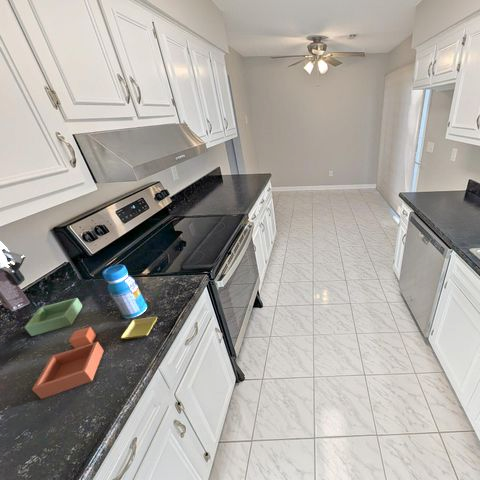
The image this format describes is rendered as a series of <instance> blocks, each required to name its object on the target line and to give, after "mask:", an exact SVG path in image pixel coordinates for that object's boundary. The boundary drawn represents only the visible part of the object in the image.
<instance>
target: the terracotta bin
mask: <svg viewBox="0 0 480 480" xmlns="http://www.w3.org/2000/svg"><path fill="white" fill-rule="evenodd" d="M104 351H105V350H104V348H103V347H102V346H101V344H100V343H99V341H93V343H91V344H88V345H85V346H81V347H78V348H72V349H68V350H66V351H65V350H64V351H63V352H62V351H61V352H60V353H56V354H52V355H51V357H50V358H49V360H48V361H47V363H46V364H45V366H44V368H43V370H42V371H41V373H40V375H39V377H38V378H37V379H36V382H35V383H34V385H33V386H32V388H31V390H32V391H33V392H34V393H35V394H36V395H37V396H38V397H39V398H40V400H42V399H45V398H49V397H51V396H54V395H57V394H60V393H62V392H66V391H68V390H71V389H73V388H74V389H75V388H76V387H79V386H81V385H86V384H88V383H91V382H93V380H94V378H95V375H96V373H97V370H98V367H99V365H100V362H101V359H102V357H103V354H104Z"/></svg>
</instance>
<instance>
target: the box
mask: <svg viewBox="0 0 480 480" xmlns="http://www.w3.org/2000/svg"><path fill="white" fill-rule="evenodd" d="M9 274H10V273H9V272H7V271H5V270H3V269H2V268H0V303H1V305H2V306H3V307H4V308H6V309H7V310H9V311H11V312H14V311H17V310H18V309H19V310H20V309H21V308H23V307H25V306H27V305H29V304H30V303H31V301H30V300H29V297H27V295H26V294H25V293H24V291H23V290H22V288H21V287H20V285H15V284H14V282H13V281H12V280H11V278H10V277H9V276H8V275H9Z"/></svg>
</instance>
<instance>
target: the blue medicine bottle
mask: <svg viewBox="0 0 480 480" xmlns="http://www.w3.org/2000/svg"><path fill="white" fill-rule="evenodd" d="M102 276H103V279H104V280H105V281H106V282H107V291H108V292H109V295H110V297H111V298H112V299H113V301H114V303H115V305H116V306H117V308H118V310H119V311H120V313H121V316H122V317H123V318H124V319H134V318H137V317H138V316H140V315H142V314H144V312H146V310H147V308H148V304H147V302H146V301H145V299H144V297H143V295H142V293H141V290H140V288H139V285H138V283H136V280H135V278H134V277H133V276H131V275H129V272H128V269H127V267H126V265H124V264H120V263H119V264H115V265H111V266H108V267H107V268H105V269H104V270H103V271H102Z"/></svg>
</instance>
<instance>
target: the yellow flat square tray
mask: <svg viewBox="0 0 480 480" xmlns="http://www.w3.org/2000/svg"><path fill="white" fill-rule="evenodd" d="M157 320H158V316H150V317H141V318H135V319H134V318H133V319H132V320H131V321H130V323H129V324H128V326H127V327H126V329H125V330H124V332H123V333H122V335H121V336H120V339H123V340H129V339H136V338H145V337H147V336H148V335H150V332H151V330H152V328H153V327H154V325H155V324H156V322H157Z"/></svg>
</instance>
